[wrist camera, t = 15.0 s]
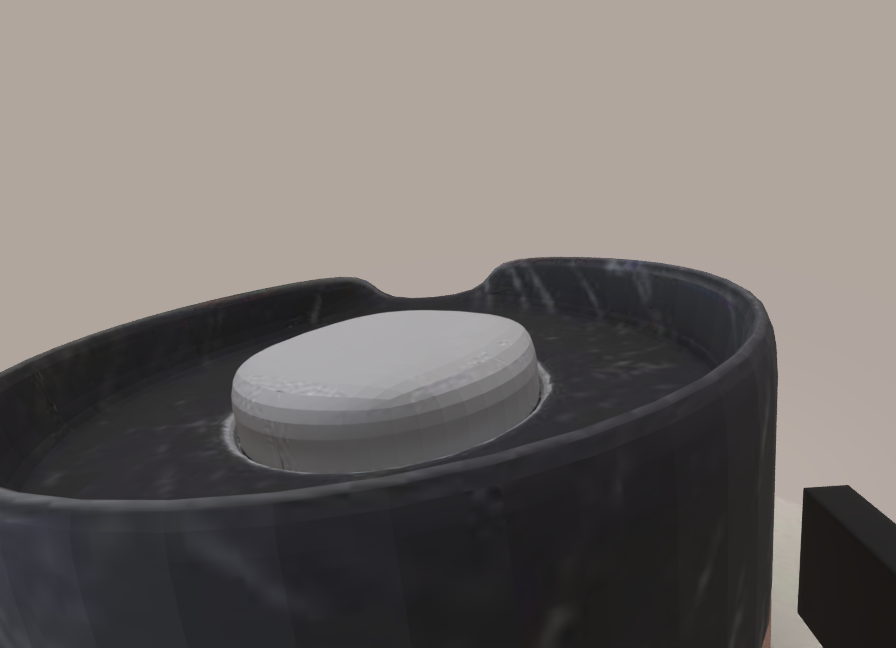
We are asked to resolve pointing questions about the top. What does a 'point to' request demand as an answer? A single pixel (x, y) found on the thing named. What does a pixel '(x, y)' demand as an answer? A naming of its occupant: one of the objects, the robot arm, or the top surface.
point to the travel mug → (401, 469)
